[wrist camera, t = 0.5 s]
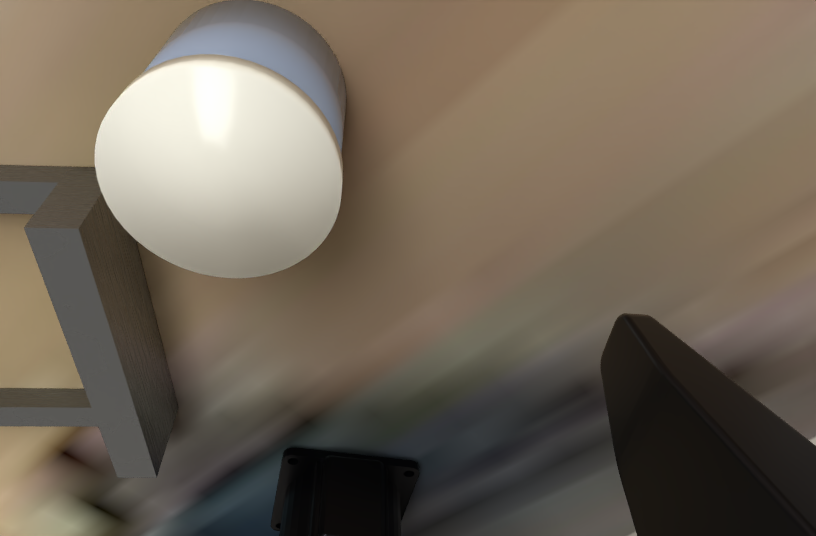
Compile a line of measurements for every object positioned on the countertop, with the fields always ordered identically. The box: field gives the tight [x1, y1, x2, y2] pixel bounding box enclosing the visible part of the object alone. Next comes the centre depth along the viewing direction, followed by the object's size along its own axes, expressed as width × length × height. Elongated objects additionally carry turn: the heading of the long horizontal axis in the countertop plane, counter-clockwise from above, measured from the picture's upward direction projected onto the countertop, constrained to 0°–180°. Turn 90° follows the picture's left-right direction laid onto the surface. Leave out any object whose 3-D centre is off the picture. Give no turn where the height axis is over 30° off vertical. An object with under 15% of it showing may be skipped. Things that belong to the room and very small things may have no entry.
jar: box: [95, 0, 346, 278], centre depth 18 cm, size 6×6×5 cm
